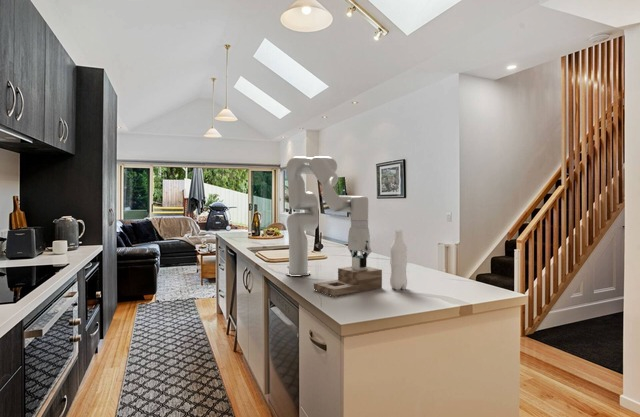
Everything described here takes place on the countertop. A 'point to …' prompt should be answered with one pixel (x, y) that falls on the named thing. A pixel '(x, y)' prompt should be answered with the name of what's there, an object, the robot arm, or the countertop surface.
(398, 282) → the water bottle
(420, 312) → the countertop surface
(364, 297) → the countertop surface
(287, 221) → the robot arm
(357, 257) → the plug
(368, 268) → the wooden stepped block
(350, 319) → the countertop surface
